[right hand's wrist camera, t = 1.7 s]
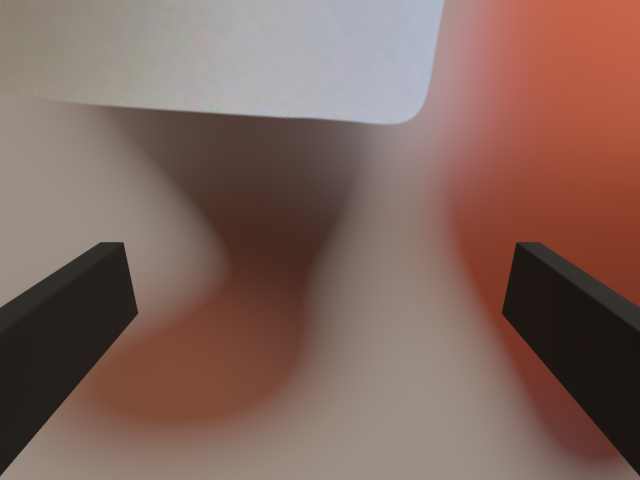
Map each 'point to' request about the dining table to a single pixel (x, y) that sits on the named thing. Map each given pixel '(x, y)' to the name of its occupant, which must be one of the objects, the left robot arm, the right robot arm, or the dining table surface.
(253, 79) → the dining table surface
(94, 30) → the dining table surface
